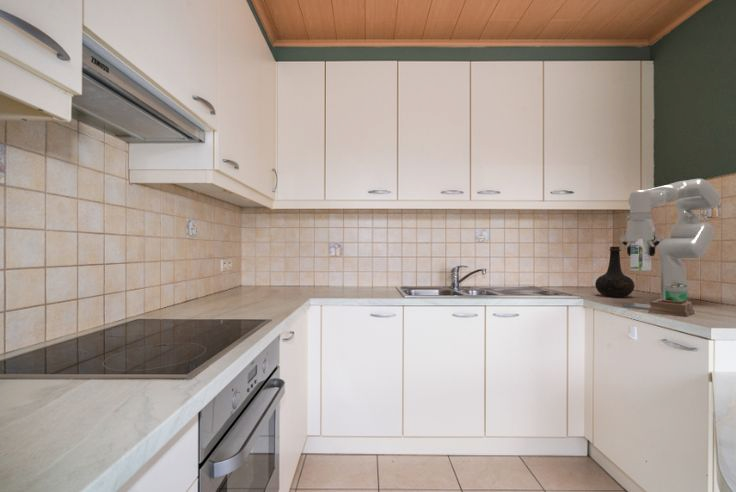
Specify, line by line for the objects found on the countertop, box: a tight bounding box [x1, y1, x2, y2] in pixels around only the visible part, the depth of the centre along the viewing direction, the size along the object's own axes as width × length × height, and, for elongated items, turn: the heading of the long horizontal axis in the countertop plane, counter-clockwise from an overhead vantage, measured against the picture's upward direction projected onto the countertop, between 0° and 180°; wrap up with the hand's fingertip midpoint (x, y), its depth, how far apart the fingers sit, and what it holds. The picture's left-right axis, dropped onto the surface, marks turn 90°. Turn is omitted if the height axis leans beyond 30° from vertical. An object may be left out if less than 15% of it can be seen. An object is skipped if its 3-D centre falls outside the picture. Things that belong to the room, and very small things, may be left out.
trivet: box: [622, 302, 650, 311], centre depth 161 cm, size 11×11×1 cm
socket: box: [648, 299, 695, 318], centre depth 147 cm, size 12×12×4 cm
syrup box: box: [629, 239, 653, 272], centre depth 162 cm, size 6×6×14 cm
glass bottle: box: [594, 246, 635, 298], centre depth 197 cm, size 18×18×28 cm
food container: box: [665, 283, 690, 302], centre depth 162 cm, size 12×6×10 cm, turn 115°
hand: (640, 255), depth 162 cm, fingers closed on syrup box, 7 cm apart
